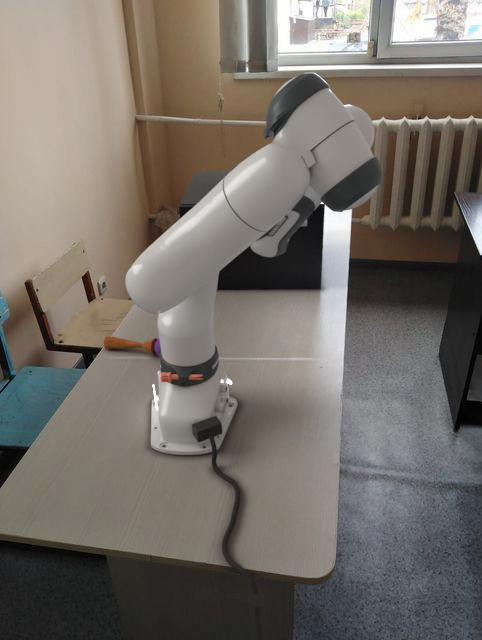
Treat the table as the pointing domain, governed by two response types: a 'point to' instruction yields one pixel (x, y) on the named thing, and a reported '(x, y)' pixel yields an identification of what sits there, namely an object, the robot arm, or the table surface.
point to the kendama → (133, 344)
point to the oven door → (278, 261)
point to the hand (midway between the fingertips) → (250, 232)
